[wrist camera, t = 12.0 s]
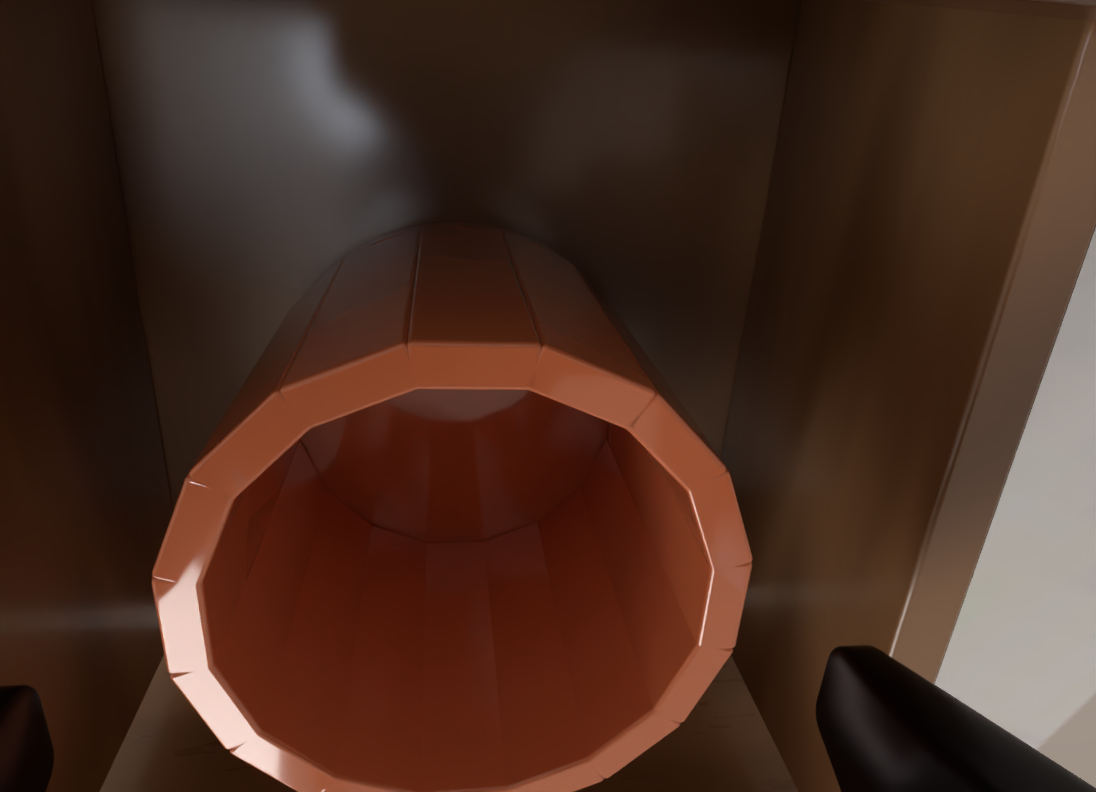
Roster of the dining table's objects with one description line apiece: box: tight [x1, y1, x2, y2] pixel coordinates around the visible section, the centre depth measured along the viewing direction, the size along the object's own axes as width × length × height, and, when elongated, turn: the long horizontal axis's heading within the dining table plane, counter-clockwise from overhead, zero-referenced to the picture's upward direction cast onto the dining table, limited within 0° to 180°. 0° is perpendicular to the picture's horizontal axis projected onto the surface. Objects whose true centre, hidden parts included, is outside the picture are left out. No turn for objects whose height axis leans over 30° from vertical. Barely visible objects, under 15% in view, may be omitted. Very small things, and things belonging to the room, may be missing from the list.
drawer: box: [0, 0, 1096, 792], centre depth 12 cm, size 21×14×7 cm, turn 176°
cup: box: [151, 222, 753, 792], centre depth 11 cm, size 6×6×6 cm
